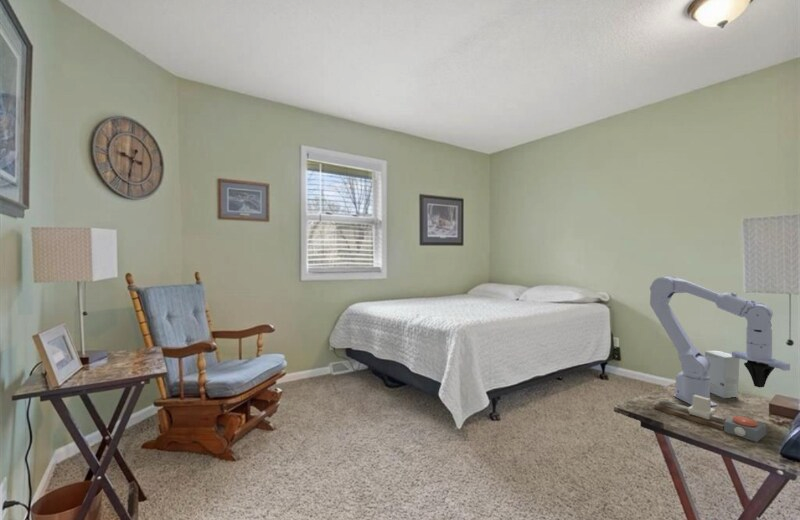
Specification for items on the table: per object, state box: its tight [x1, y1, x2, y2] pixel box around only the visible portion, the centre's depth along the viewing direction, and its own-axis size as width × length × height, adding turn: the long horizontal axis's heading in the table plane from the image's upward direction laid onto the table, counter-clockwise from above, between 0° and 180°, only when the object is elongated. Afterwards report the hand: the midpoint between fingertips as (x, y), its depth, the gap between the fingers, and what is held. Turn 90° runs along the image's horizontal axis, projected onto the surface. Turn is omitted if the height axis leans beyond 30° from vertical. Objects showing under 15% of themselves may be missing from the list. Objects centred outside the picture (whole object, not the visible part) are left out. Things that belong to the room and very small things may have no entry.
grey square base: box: [723, 414, 767, 443], centre depth 105 cm, size 7×7×3 cm
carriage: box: [688, 395, 717, 419], centre depth 114 cm, size 5×6×6 cm
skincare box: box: [704, 350, 740, 399], centre depth 133 cm, size 8×6×15 cm
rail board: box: [653, 399, 727, 431], centre depth 116 cm, size 18×6×2 cm, turn 31°
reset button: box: [731, 415, 758, 427], centre depth 105 cm, size 5×5×3 cm
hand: (759, 386), depth 115 cm, fingers closed
